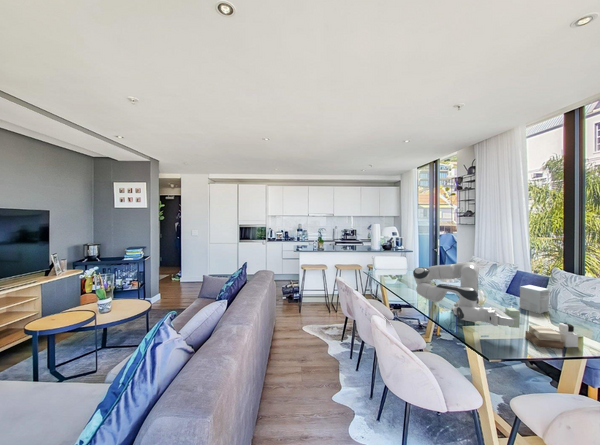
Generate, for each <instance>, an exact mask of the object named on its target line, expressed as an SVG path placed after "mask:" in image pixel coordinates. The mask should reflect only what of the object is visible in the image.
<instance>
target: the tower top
mask: <svg viewBox="0 0 600 445" xmlns="http://www.w3.org/2000/svg"><path fill="white" fill-rule="evenodd" d="M555 330H556V329H554V328H552V327H550V326H546V325H545V326H544V325H543V326H542V325H534V324H533V325H530V324H529V325H528V331H529V332H530V333H531V334H533V335H534V336H536V337H537V338H538V339H540V340H551V341H561V334H559V333H558V332H556V331H555Z"/></svg>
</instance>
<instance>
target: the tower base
mask: <svg viewBox="0 0 600 445" xmlns="http://www.w3.org/2000/svg"><path fill="white" fill-rule="evenodd" d="M524 334H525V339H527V340H529V341H530V342H531V343H532V344H533V345H535V346H536V347H537V348H545V349H556V350H564V342H562V341H551V340H540V339H538V338H537V337H536V336H534V335H533V334H531V333H530V332H529V330H525V333H524Z"/></svg>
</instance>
